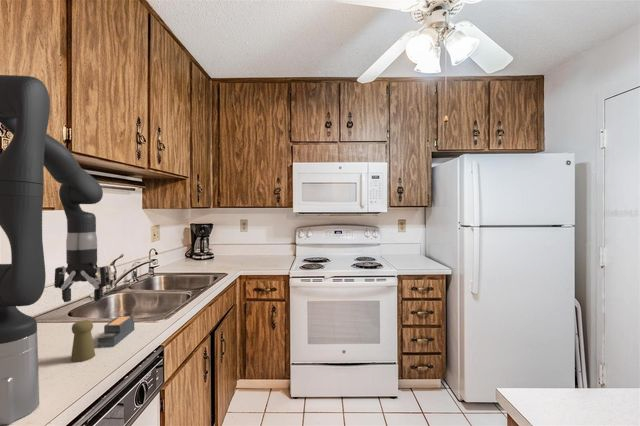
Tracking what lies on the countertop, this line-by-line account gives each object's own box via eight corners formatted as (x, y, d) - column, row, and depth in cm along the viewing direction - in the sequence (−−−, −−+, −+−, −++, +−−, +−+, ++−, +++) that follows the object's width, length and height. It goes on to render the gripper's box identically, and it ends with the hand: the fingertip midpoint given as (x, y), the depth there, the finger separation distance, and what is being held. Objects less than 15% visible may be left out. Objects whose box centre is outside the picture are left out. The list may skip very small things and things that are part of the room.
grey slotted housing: (114, 346, 107) (113, 329, 107) (97, 347, 107) (97, 330, 106) (134, 329, 121) (134, 315, 121) (120, 330, 121) (119, 315, 120)
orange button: (118, 330, 111) (118, 324, 111) (107, 331, 111) (107, 325, 111) (130, 322, 119) (130, 316, 119) (119, 322, 119) (119, 316, 119)
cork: (98, 357, 100) (97, 321, 100) (73, 364, 95) (72, 326, 95) (92, 351, 104) (91, 316, 103) (68, 357, 99) (67, 321, 99)
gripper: (47, 249, 94) (48, 305, 95) (100, 248, 96) (100, 304, 96) (65, 246, 102) (65, 298, 102) (113, 245, 103) (114, 297, 103)
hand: (82, 301), depth 99 cm, fingers open, 8 cm apart
